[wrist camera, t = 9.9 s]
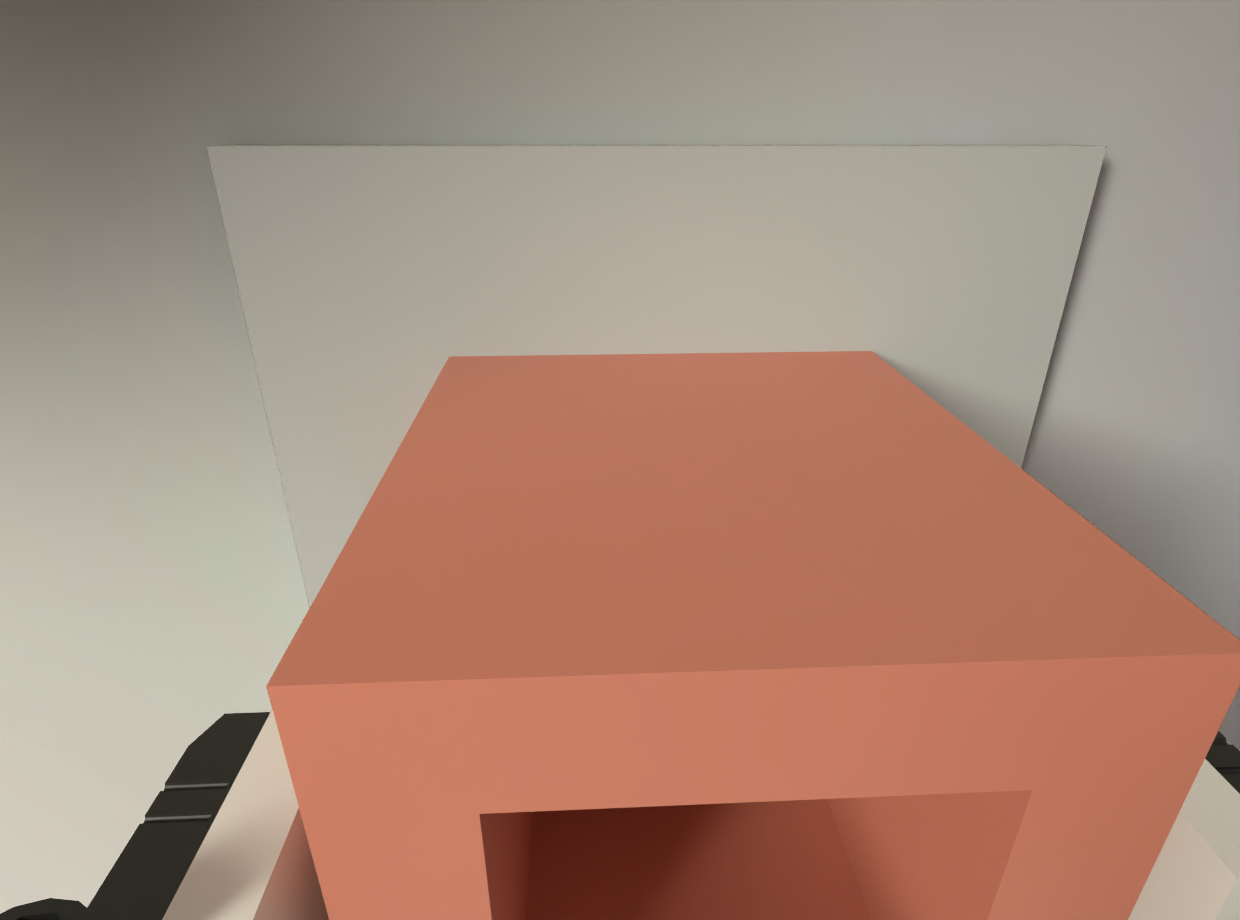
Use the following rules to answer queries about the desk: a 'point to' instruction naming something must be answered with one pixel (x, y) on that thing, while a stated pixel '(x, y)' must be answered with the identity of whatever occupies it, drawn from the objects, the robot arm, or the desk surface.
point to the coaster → (632, 276)
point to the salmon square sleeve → (734, 661)
